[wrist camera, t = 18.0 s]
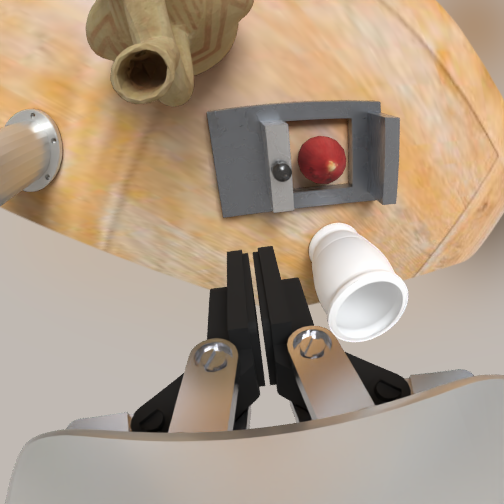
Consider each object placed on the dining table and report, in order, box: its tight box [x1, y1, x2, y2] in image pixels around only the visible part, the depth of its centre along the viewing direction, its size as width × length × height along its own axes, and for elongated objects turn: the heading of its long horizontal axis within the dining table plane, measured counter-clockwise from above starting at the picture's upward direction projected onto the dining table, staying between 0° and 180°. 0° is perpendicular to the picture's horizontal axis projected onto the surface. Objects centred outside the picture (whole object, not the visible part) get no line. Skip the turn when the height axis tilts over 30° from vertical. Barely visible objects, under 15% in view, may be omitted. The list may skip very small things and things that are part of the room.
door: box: [261, 120, 294, 213], centre depth 34 cm, size 2×10×6 cm, turn 6°
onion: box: [298, 136, 346, 184], centre depth 34 cm, size 6×6×8 cm
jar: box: [309, 223, 408, 342], centre depth 39 cm, size 11×10×15 cm
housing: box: [207, 100, 400, 218], centre depth 35 cm, size 22×14×6 cm, turn 96°
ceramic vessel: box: [86, 0, 254, 107], centre depth 17 cm, size 17×20×25 cm
